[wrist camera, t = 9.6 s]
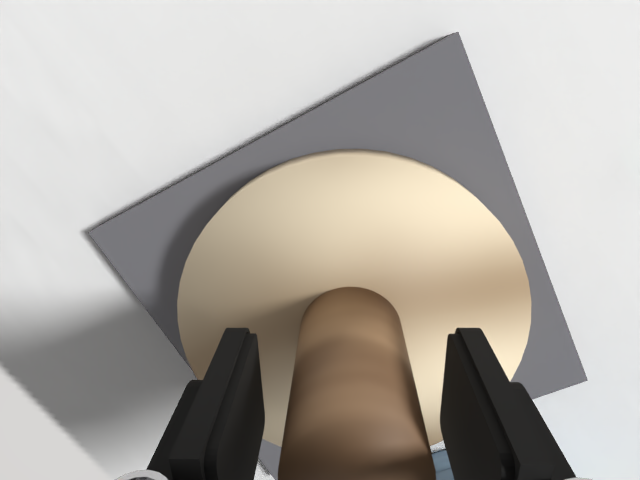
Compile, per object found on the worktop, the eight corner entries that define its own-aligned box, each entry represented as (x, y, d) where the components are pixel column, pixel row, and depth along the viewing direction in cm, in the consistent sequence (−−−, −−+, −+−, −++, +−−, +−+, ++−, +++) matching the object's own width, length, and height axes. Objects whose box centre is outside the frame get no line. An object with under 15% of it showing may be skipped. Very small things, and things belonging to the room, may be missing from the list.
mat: (578, 368, 15) (587, 380, 15) (281, 472, 18) (279, 485, 17) (452, 33, 11) (458, 31, 11) (98, 226, 14) (88, 232, 13)
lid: (557, 372, 14) (701, 573, 9) (288, 467, 17) (260, 678, 11) (440, 78, 11) (545, 90, 6) (125, 243, 13) (-36, 375, 8)
